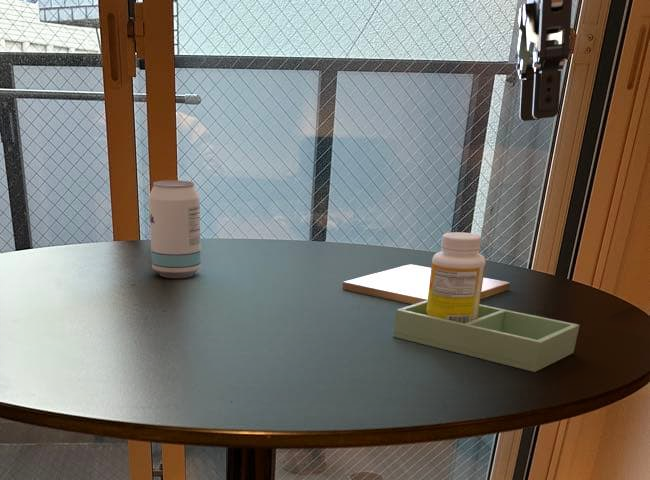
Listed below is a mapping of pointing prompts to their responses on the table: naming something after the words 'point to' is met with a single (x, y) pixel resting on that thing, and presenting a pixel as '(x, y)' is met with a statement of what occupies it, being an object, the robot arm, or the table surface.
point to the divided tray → (491, 335)
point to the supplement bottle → (456, 278)
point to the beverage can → (175, 228)
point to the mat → (409, 284)
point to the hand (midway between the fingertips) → (537, 119)
